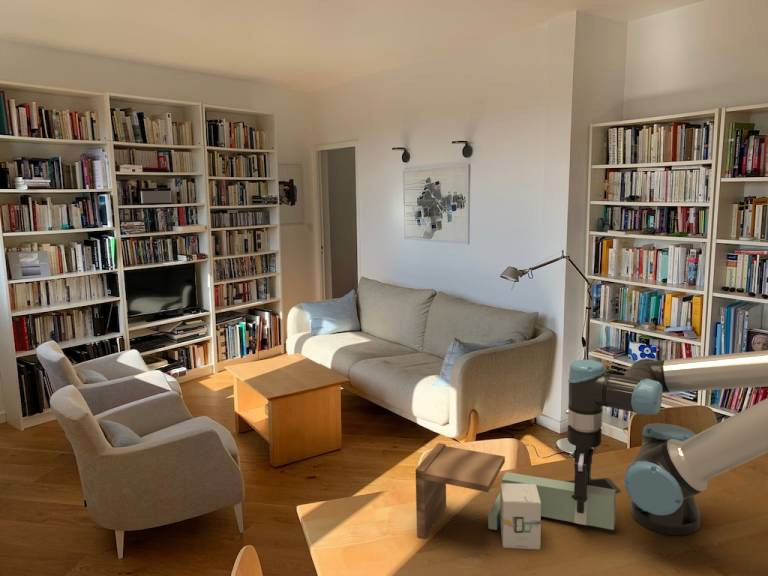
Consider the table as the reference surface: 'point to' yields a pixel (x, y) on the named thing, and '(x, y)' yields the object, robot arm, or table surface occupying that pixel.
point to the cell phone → (602, 483)
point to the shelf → (450, 479)
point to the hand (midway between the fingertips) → (581, 517)
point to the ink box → (520, 516)
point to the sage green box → (562, 501)
